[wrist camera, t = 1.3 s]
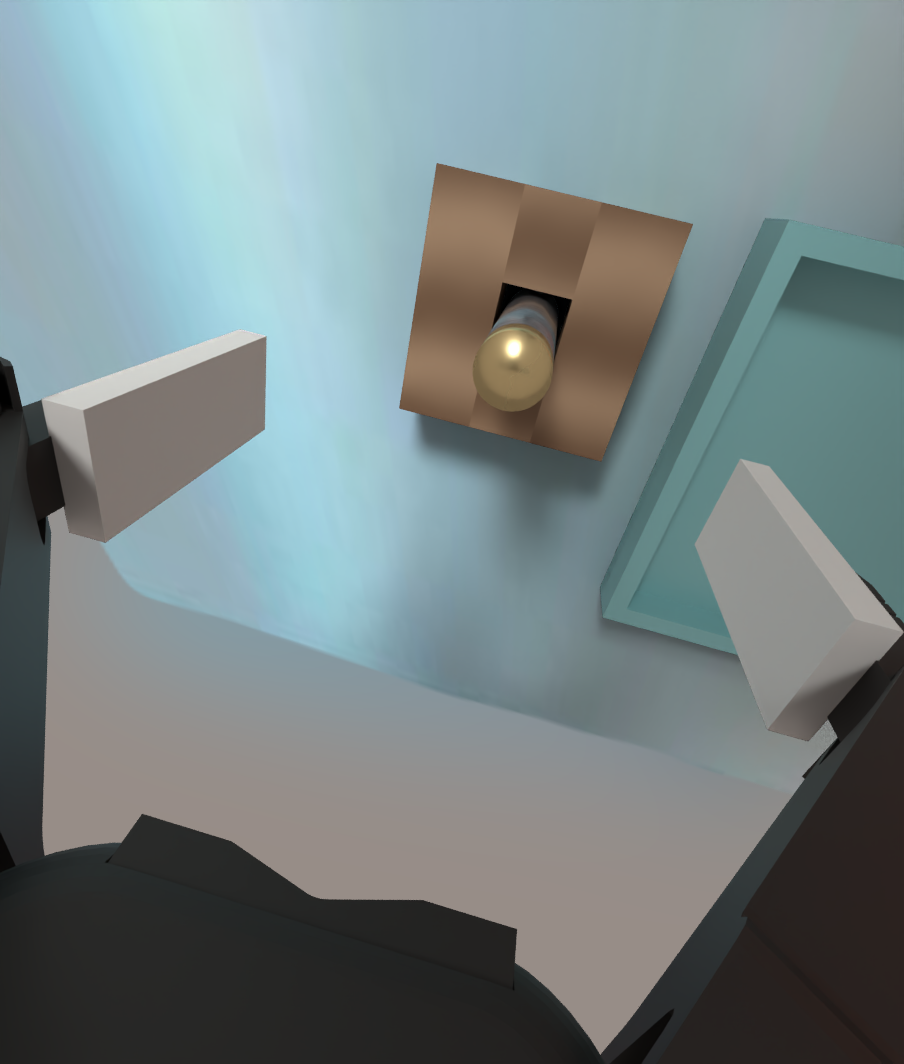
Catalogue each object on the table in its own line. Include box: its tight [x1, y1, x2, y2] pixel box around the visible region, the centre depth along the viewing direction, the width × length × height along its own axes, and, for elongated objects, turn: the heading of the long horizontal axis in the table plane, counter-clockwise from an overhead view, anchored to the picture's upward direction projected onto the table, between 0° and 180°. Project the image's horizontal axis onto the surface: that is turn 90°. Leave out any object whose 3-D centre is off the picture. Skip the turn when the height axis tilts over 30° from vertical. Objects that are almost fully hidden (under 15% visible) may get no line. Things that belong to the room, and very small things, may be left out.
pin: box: [472, 288, 559, 412], centre depth 26 cm, size 3×3×13 cm
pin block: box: [399, 163, 693, 461], centre depth 30 cm, size 12×12×4 cm
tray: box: [600, 218, 904, 655], centre depth 31 cm, size 24×24×4 cm
